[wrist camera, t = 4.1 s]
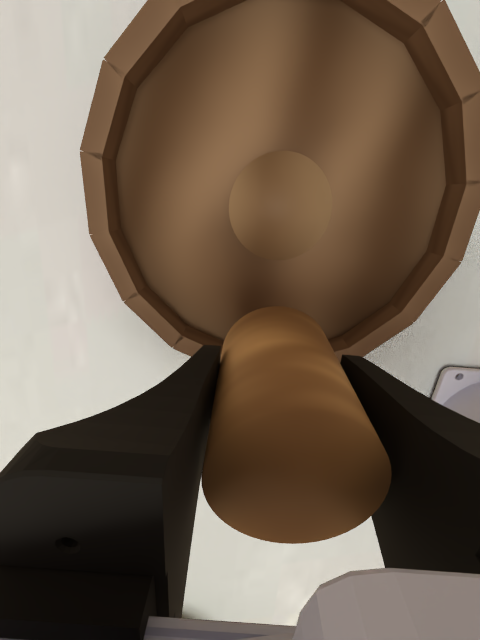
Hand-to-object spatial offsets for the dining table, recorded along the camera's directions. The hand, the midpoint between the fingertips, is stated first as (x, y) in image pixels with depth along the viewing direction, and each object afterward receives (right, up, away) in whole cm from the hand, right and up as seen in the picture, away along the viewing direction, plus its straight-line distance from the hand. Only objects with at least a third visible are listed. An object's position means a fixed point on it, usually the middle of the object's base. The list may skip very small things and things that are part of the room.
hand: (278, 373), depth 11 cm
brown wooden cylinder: (0, 0, +1) cm, 1 cm away
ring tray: (+1, +8, +6) cm, 10 cm away
